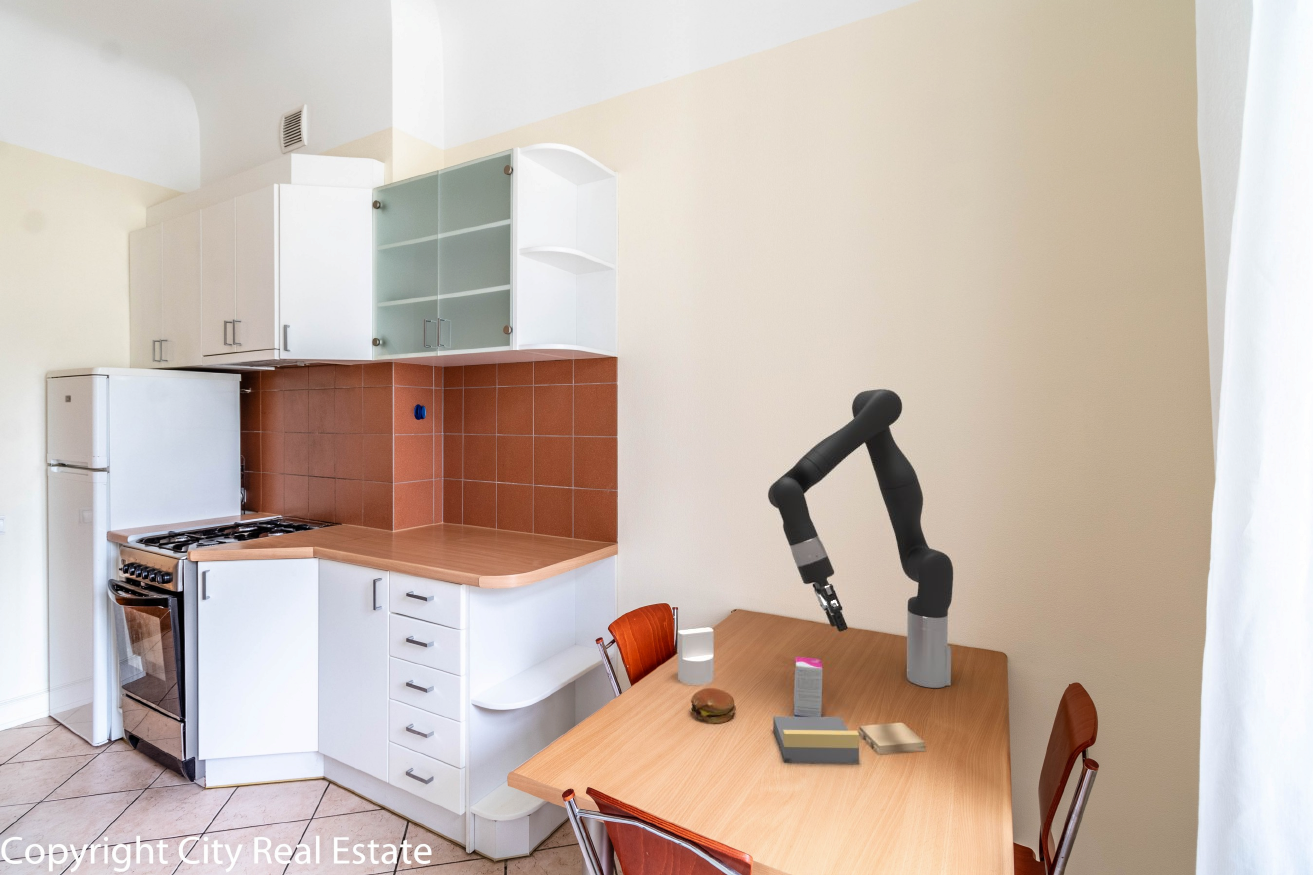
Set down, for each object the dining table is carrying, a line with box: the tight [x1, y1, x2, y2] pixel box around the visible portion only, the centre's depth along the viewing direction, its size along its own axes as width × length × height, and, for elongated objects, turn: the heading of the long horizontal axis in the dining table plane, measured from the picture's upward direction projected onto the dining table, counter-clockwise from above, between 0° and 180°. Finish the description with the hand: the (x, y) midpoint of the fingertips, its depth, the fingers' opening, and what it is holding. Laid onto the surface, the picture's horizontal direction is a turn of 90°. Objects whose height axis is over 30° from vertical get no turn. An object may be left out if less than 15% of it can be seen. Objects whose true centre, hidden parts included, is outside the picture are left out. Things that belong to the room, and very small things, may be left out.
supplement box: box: [793, 656, 823, 717], centre depth 132 cm, size 6×6×12 cm
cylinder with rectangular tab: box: [677, 626, 715, 686], centre depth 151 cm, size 9×9×12 cm
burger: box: [690, 687, 737, 725], centre depth 132 cm, size 10×9×5 cm
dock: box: [772, 715, 860, 765], centre depth 118 cm, size 14×12×6 cm
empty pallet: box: [858, 722, 927, 756], centre depth 120 cm, size 10×8×2 cm
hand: (839, 627), depth 136 cm, fingers open, 8 cm apart
